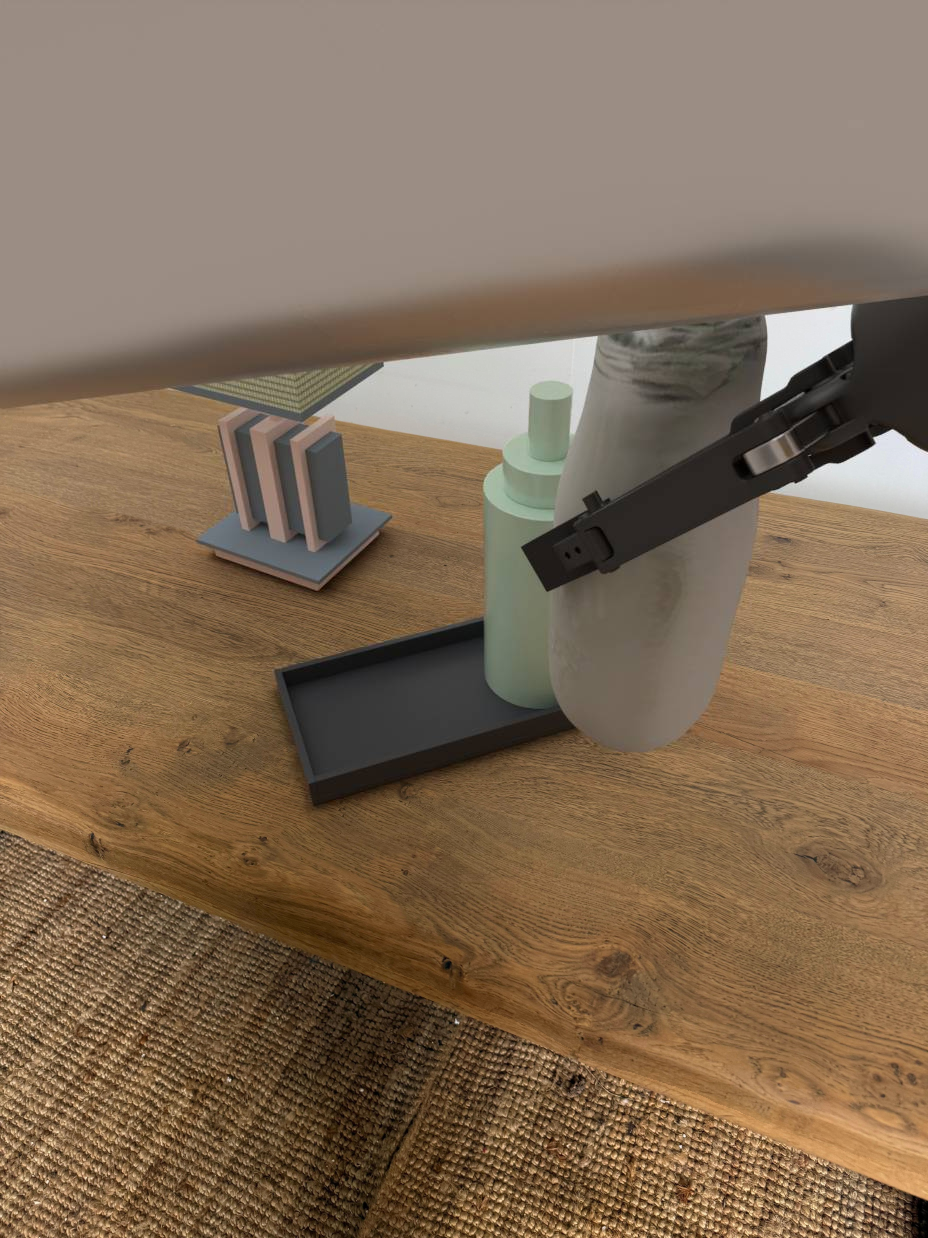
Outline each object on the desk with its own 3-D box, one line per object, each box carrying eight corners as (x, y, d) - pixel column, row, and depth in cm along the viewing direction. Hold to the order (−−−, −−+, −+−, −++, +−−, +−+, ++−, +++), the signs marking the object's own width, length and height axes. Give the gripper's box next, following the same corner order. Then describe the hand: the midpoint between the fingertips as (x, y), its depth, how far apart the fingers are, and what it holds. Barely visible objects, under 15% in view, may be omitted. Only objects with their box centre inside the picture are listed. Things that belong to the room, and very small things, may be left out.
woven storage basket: (399, 534, 100) (375, 237, 79) (327, 602, 90) (278, 284, 70) (273, 496, 107) (221, 214, 86) (195, 555, 97) (114, 254, 76)
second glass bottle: (471, 698, 78) (466, 413, 60) (498, 628, 85) (500, 356, 67) (581, 718, 76) (610, 428, 58) (598, 645, 83) (628, 368, 65)
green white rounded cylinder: (523, 682, 58) (541, 242, 40) (666, 656, 59) (745, 223, 41) (572, 797, 50) (621, 320, 32) (734, 764, 52) (865, 293, 34)
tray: (312, 806, 70) (308, 784, 68) (278, 691, 80) (273, 669, 79) (651, 704, 78) (654, 682, 76) (580, 612, 88) (582, 590, 87)
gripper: (924, 550, 23) (496, 685, 42) (1164, 317, 35) (750, 502, 54) (788, 302, 23) (416, 551, 41) (1079, 153, 35) (691, 397, 54)
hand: (606, 523), depth 48 cm, fingers closed on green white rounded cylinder, 11 cm apart
